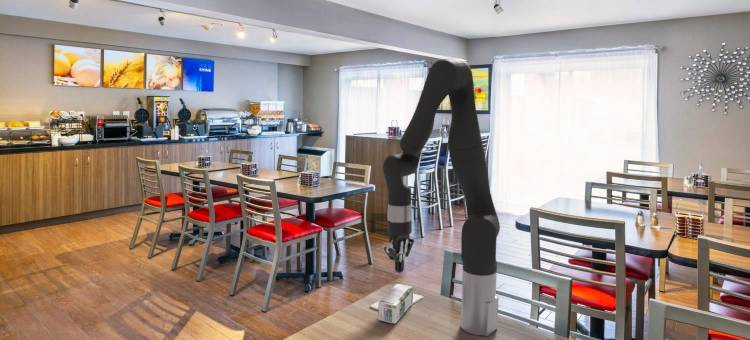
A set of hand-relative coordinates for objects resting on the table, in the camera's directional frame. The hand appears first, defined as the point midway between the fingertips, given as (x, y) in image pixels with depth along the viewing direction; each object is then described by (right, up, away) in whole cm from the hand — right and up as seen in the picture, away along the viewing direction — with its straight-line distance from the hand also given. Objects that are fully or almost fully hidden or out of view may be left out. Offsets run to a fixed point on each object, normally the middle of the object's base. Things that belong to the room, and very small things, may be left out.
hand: (399, 271), depth 147 cm
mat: (-1, -10, +1) cm, 10 cm away
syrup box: (+2, -7, 0) cm, 7 cm away
